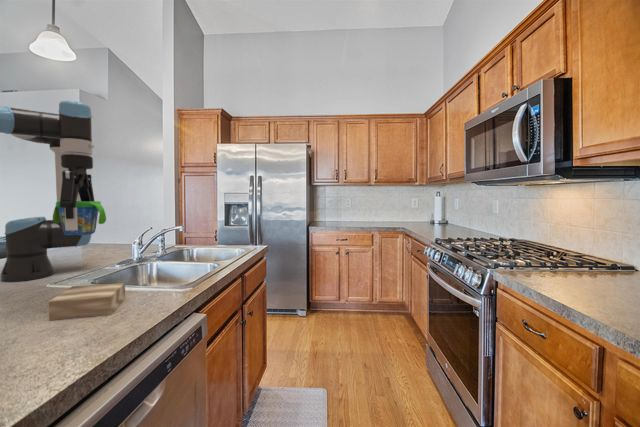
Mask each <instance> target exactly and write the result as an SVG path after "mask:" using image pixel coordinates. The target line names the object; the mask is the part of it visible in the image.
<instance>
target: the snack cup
mask: <svg viewBox="0 0 640 427" xmlns="http://www.w3.org/2000/svg"><path fill="white" fill-rule="evenodd" d="M73 208H77V220H78V230H67V231H65V208H61V207H60V201H57V200H56V202H55V207H54V209H53V214H52V220H53V221H54V222H55V223H62V228H63V232H64V234H65V235H89V234H91V235H93V234H95V233H96V228H97V223H98V225H99V224H100V225H103V224H105V223H106V222H107V215H106V211H105V208H104V207H103V205H102V204H101V201H97V200H94V201H76V205H75V207H73ZM98 215H99V216H98Z"/></svg>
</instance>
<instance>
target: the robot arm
mask: <svg viewBox="0 0 640 427" xmlns="http://www.w3.org/2000/svg"><path fill="white" fill-rule="evenodd" d="M92 117H93V116H92V111H91V107H90V106H89V105H88V104H87V103H84V102H80V101H75V100H61V101H60V102H59V104H58V113H53V112H45V111H44V112H43V111H38V110H37V111H36V110H30V109H23V108H15V107H10V106H4V105H3V106H1V105H0V133H1V134H5V135H12V136H13V137H16V138H18V139H20V140H23V141H26V142H27V141H28V142H32V143H37V144H43V145H44V144H47V145H49V150H51V151H52V152H53V153H54V163H55V164H54V165H55V166H54V167H55V189H56V192H55V194H56V202H57V201H60V207H61V208H65V231H67V230H78V220H77V208H73V207H75V205H76V201H95V196H94V195H95V194H94V190H93V182H92V174H88V173H87V170H92V169H93V168H94V160H93V159H94V158H93V157H92V155H93V148H94V147H95V146H94V144H93V140H92V135H93V134H92ZM4 227H5V229H4V235H5V252H6V253H5V254H6V255H5V256H6V260H5V262H4V265H3V268H2V269H1V273H0V281H1V282H9V283H10V282H13V283H14V282H23V281H24V282H25V281H32V280H37V279H43V278H47V277H50V276H53V275H54V271H55V270H54V266H53V264H52V262H51V261H50V259H49V256H48V249H49V250H50V249H59V248H60V249H61V248H72V247H75V248H77V247H83V246H87V245H88V244H89V243H90V242H91V238H92V234H89V235H65V234H64V232H63V228H62V223H55V222H54V221H53V219H47V218H46V217H45V216H35V217H26V218H19V219H14V220H10V221H7V223H6V224H5V226H4Z"/></svg>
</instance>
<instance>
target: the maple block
mask: <svg viewBox="0 0 640 427" xmlns="http://www.w3.org/2000/svg"><path fill="white" fill-rule="evenodd" d="M125 299H126V283H125V282H118V283H117V282H116V283H104V284H103V283H101V284H90V285H76V286H71V287H69V288H68V289H65V291H63V292H61V293H60V294H59V295H56V296H55V297H53V298H52V299H50V300H49V301H48V318H49V321H57V320H67V319H78V318H85V317H98V316H108V315H112V314H113V313H114V312H115V310H116V309H117V308H118V307H119V306H120V305H121V303H123V301H125Z"/></svg>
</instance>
